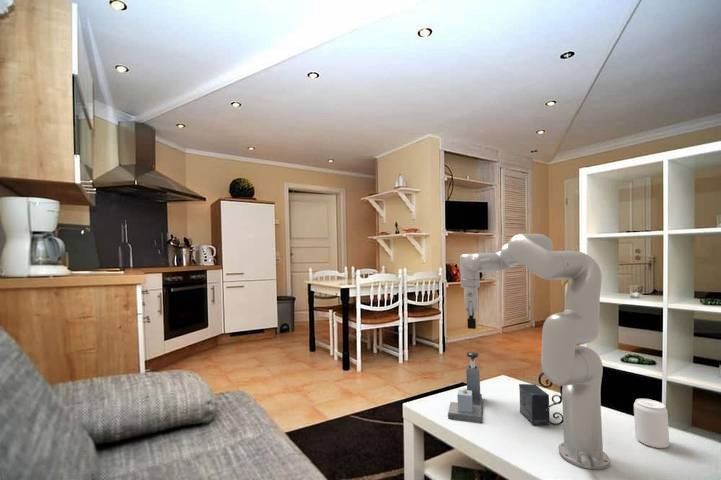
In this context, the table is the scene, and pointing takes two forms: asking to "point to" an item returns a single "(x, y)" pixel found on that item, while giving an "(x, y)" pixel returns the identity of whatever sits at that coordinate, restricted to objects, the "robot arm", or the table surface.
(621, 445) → the table surface
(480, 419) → the press
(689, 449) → the table surface
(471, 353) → the plunger
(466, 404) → the housing
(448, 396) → the table surface
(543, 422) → the small box
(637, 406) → the white cylindrical container
